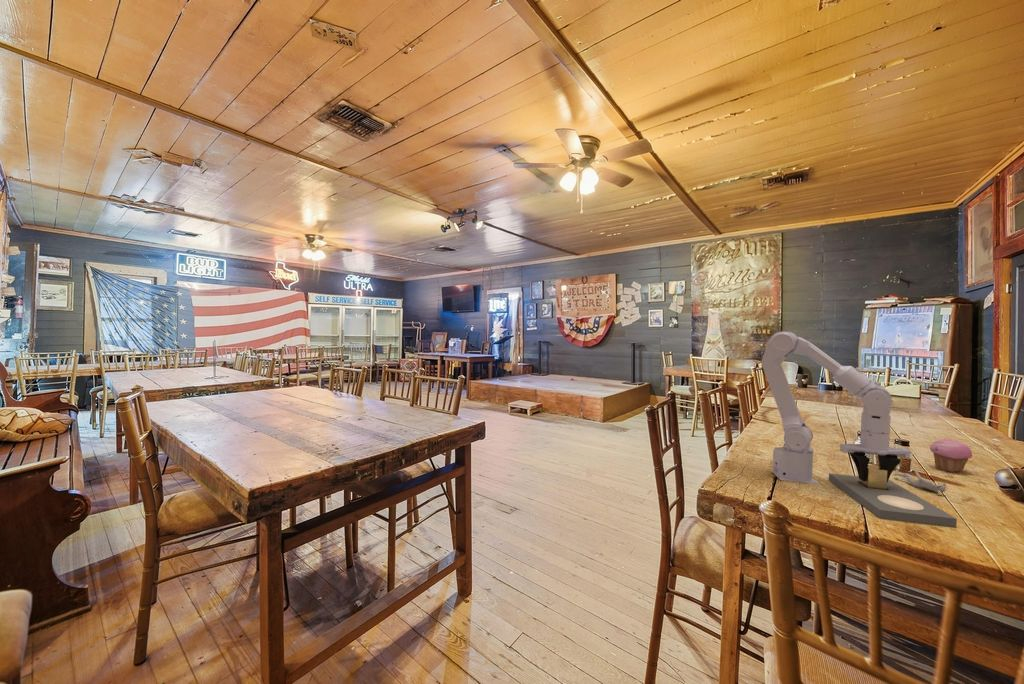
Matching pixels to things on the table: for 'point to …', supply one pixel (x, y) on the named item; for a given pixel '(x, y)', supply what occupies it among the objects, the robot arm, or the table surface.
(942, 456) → the cupcake
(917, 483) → the soldier figure
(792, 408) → the robot arm
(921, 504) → the board
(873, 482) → the brass post
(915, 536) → the table surface
